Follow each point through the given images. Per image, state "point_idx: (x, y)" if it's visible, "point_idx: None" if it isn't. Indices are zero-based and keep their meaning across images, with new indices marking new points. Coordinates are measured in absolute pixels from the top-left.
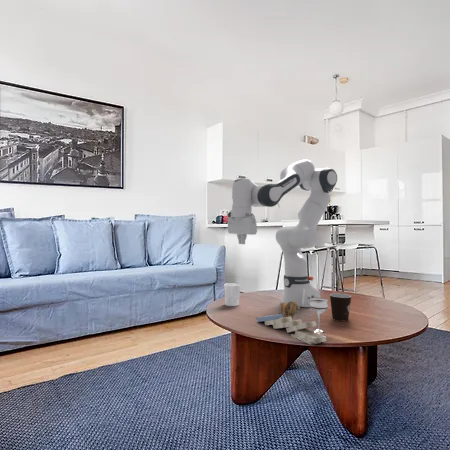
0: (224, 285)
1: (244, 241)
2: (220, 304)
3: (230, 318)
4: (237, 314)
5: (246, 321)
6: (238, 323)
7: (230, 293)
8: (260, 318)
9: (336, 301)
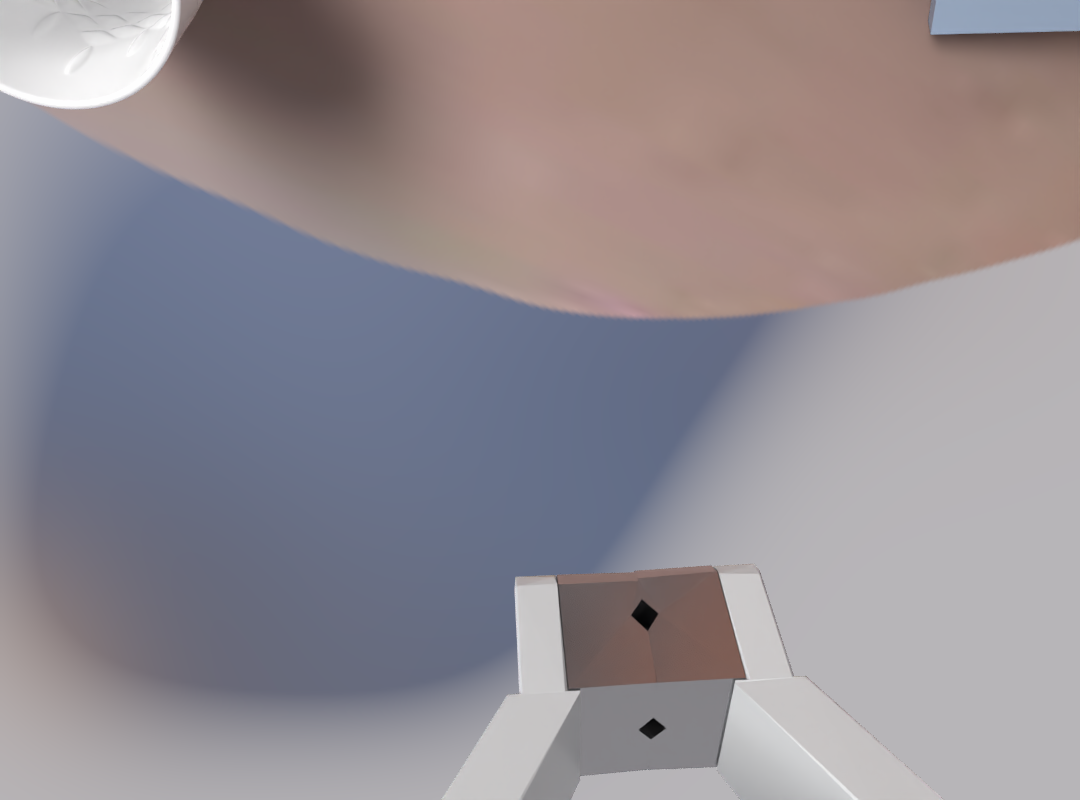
0: (54, 104)
1: (779, 655)
2: None
3: (684, 194)
4: (594, 69)
5: (846, 109)
6: (849, 200)
7: (190, 21)
8: (993, 28)
9: None
